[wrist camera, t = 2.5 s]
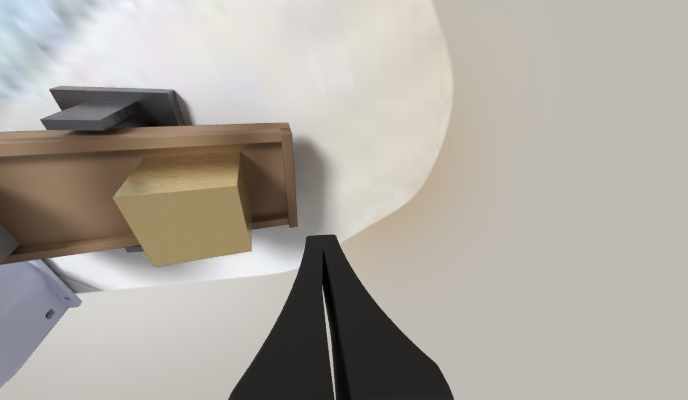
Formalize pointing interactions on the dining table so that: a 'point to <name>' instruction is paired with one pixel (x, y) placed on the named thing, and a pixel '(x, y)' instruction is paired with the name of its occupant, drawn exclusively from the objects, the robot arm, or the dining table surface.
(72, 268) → the dining table surface
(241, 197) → the block
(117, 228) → the balance beam
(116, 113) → the beam stand
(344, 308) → the robot arm
